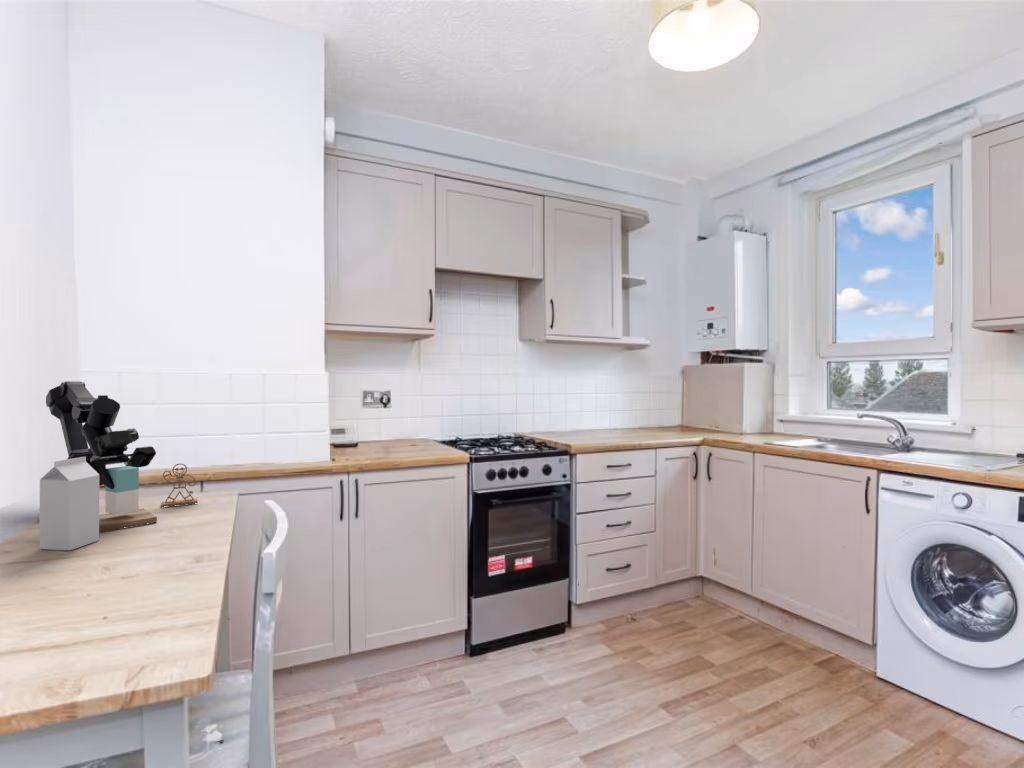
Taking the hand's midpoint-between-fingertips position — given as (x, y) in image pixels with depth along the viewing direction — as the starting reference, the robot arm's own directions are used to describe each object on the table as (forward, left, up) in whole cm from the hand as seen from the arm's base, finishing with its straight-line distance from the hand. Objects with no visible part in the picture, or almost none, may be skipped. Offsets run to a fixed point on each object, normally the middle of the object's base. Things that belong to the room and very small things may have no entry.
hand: (125, 486), depth 130 cm
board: (-1, 0, -9) cm, 10 cm away
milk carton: (+12, -12, -10) cm, 20 cm away
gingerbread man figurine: (-12, +16, -10) cm, 22 cm away
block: (-1, 0, -7) cm, 7 cm away
